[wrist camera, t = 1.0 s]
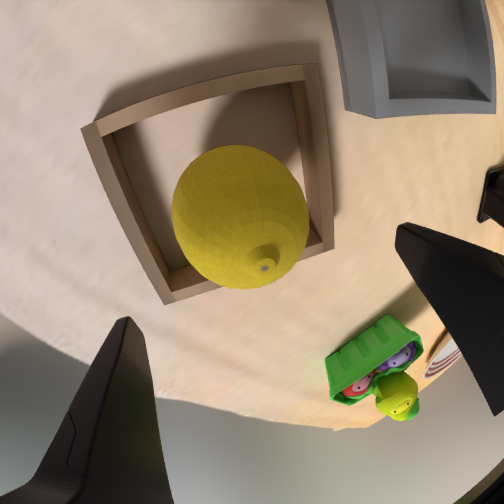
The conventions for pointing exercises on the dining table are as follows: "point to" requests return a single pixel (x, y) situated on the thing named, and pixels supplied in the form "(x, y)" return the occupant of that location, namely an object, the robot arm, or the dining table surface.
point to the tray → (414, 56)
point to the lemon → (240, 217)
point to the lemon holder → (99, 131)
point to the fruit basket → (378, 369)
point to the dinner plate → (442, 356)
